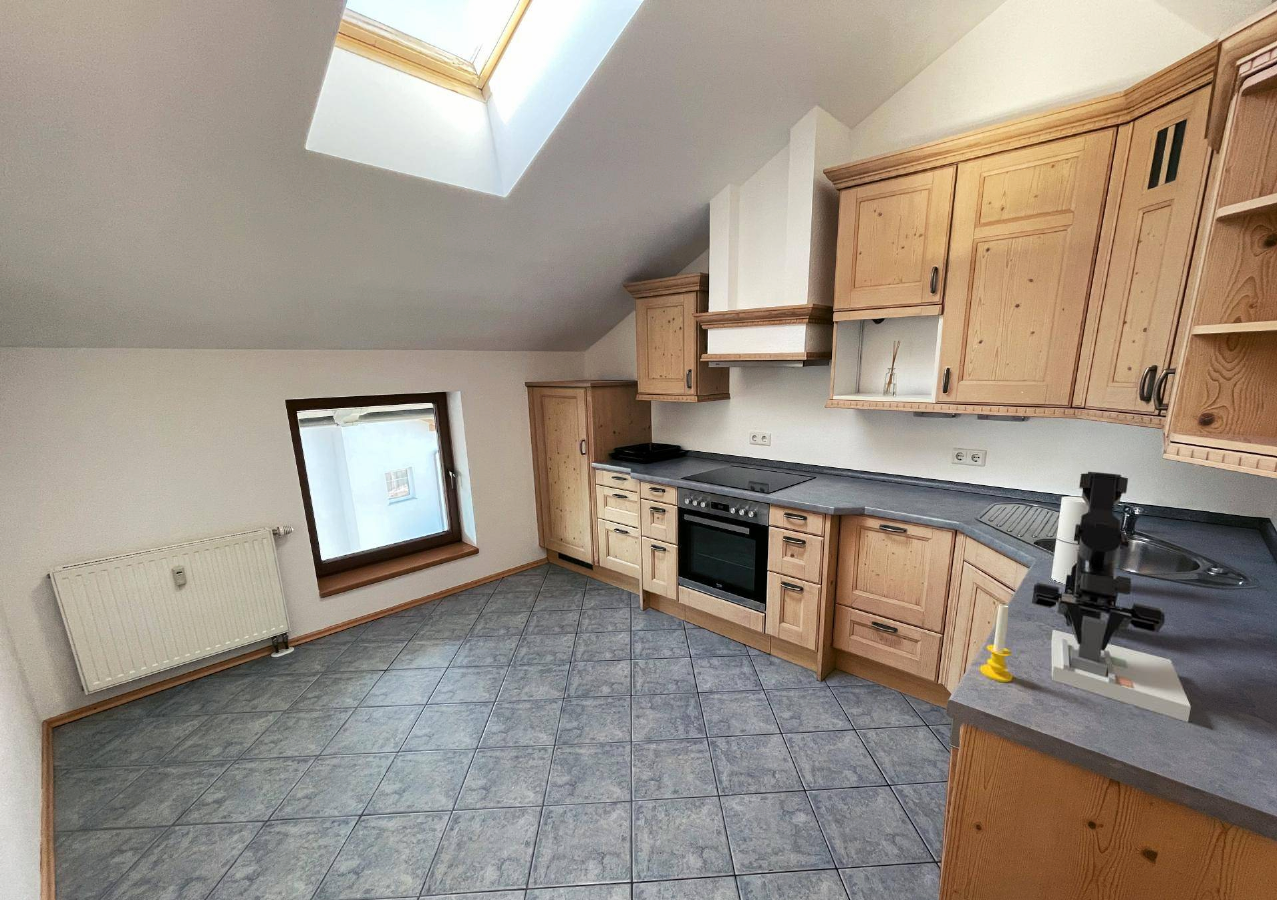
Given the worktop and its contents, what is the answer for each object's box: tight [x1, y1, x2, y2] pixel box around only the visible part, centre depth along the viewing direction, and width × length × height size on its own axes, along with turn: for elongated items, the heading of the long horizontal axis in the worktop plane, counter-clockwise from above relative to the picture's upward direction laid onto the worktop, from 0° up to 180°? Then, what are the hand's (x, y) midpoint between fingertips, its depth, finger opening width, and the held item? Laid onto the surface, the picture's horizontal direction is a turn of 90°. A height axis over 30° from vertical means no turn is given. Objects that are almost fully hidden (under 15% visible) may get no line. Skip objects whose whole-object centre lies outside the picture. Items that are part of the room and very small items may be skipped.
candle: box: [979, 604, 1013, 683], centre depth 95 cm, size 5×5×16 cm
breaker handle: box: [1070, 616, 1107, 677], centre depth 92 cm, size 4×5×10 cm
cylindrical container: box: [1051, 496, 1088, 585], centre depth 137 cm, size 7×7×25 cm
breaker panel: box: [1050, 629, 1191, 723], centre depth 94 cm, size 18×18×4 cm
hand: (1091, 646), depth 91 cm, fingers closed on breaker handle, 3 cm apart
